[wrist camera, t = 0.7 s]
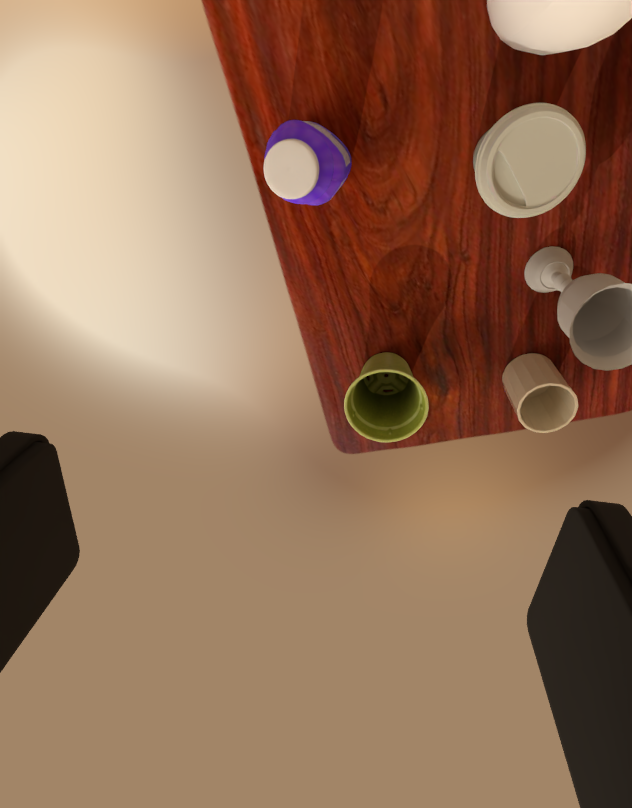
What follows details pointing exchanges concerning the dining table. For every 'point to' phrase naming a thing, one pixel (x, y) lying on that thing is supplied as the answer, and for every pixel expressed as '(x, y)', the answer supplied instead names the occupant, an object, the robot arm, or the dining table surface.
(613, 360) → the chalice
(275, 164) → the bottle
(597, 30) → the bottle
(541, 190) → the coffee cup
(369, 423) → the plant pot
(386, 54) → the dining table surface
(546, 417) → the paper cup
